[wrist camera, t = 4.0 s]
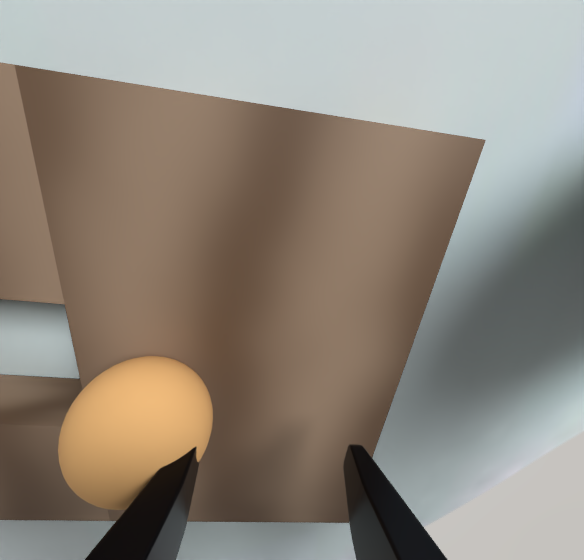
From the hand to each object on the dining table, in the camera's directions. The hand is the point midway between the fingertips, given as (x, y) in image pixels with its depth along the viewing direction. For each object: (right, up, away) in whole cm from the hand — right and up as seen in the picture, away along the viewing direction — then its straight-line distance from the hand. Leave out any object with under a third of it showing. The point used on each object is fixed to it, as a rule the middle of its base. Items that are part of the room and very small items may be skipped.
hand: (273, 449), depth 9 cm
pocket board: (-6, +3, +4) cm, 8 cm away
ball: (-4, +1, 0) cm, 4 cm away
